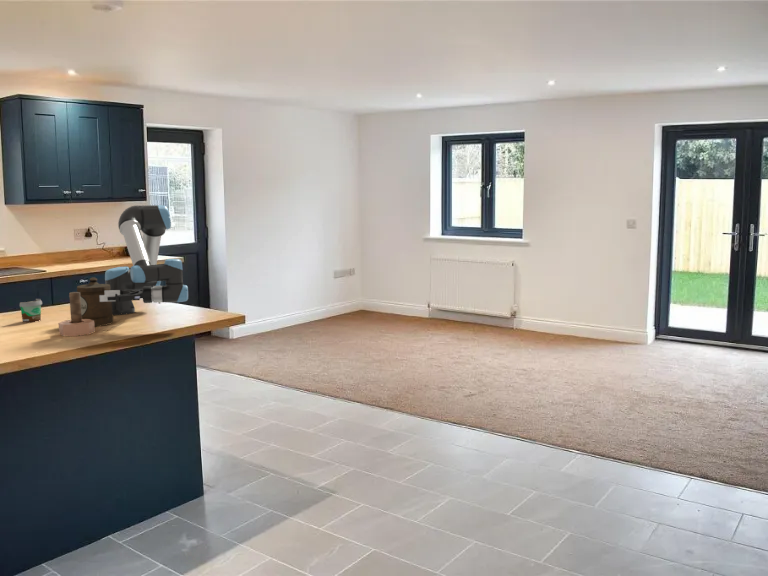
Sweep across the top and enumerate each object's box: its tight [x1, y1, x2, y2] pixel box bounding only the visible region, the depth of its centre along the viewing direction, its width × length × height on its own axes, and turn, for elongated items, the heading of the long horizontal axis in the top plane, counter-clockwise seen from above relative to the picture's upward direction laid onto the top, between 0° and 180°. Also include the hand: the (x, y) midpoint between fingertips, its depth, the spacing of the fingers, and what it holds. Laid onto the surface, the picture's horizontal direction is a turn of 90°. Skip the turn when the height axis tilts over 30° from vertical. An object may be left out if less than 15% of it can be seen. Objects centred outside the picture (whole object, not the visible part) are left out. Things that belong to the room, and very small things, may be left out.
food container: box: [19, 298, 43, 323], centre depth 343 cm, size 12×6×10 cm, turn 168°
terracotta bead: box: [58, 319, 96, 337], centre depth 314 cm, size 13×13×5 cm
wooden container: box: [76, 276, 114, 327], centre depth 336 cm, size 15×15×22 cm
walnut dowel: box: [68, 291, 82, 323], centre depth 314 cm, size 4×4×18 cm
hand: (102, 296), depth 315 cm, fingers open, 13 cm apart
